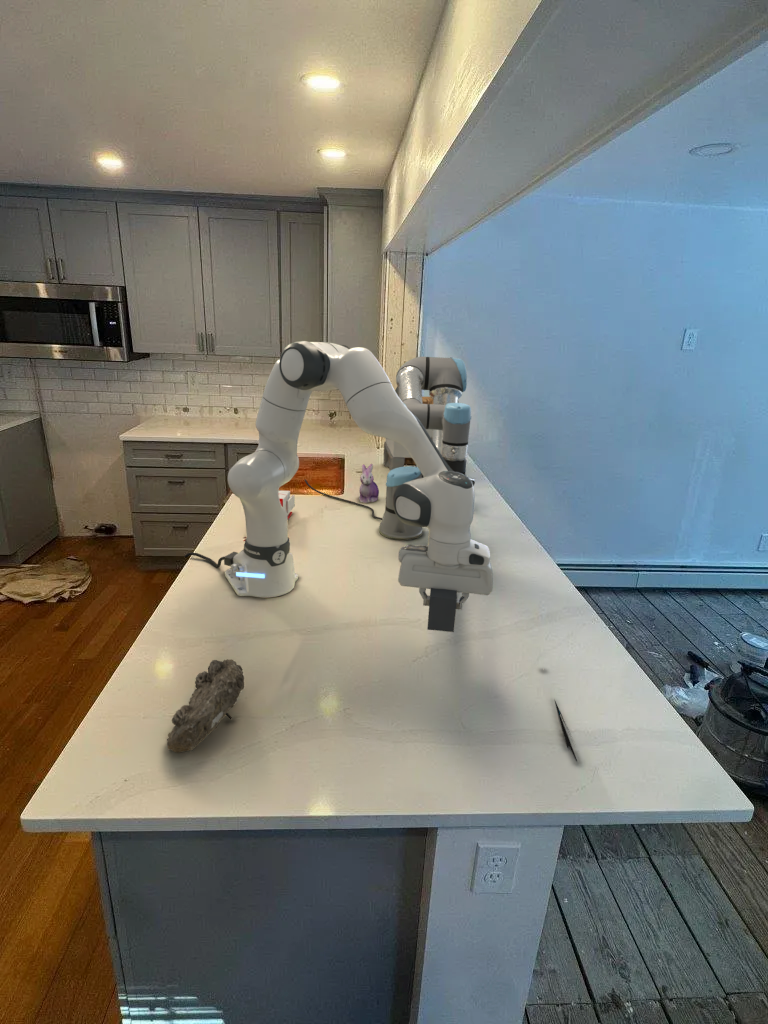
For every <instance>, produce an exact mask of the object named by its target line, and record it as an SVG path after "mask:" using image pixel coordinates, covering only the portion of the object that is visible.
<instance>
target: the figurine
mask: <svg viewBox="0 0 768 1024" xmlns="http://www.w3.org/2000/svg"><path fill="white" fill-rule="evenodd" d="M373 467H374V464H373V463H370V464H369V465H368V467H367V466H366V465H365V464H362V465H361V472H362V473H361V475H360V478H359V480H360V483H361V484H360V486H359V490H358V491H359V496H358V500H359V503H365V504H369V503H374V502H377V501H378V500H379V495H380V489H379V486H378V484H377V483H376V482H375V481H374V480H375V477H374V475H373V473H372V471H373Z"/></svg>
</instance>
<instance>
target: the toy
mask: <svg viewBox="0 0 768 1024" xmlns="http://www.w3.org/2000/svg"><path fill="white" fill-rule="evenodd" d="M278 495H279V499H280V503H281V506H282V507H284V508H285V509H286V511H287V514H288V520H289V519H290V518H291V516H292V514H293V511H292V510H293V509H294V508H295V507H296V497H295V494H293V495H291V491H290V490H279V491H278Z"/></svg>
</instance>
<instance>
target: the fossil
mask: <svg viewBox="0 0 768 1024" xmlns="http://www.w3.org/2000/svg"><path fill="white" fill-rule="evenodd" d="M243 670H244V669H243V667H242V665H240V664H237V662H236V661H235V660H234V659H232V658H231V659H227V658H226V659H224V660H223V661H222V660H217V659H212V660H211V661H210V663H209V665H208V666H207V671H201V672H199V673H198V674H197V675H196V676H195V680H194V684H195V685H194V687H195V689H194V690H193V693H192V694H191V697H190V698H189V700H188V704H184V705H182V706H181V707H180V709H177V710H176V711H175V713H174V715H173V716H172V718H171V723H172V724H173V727H172V730H171V731H170V732H168V734H167V738H166V741H167V742H166V745H167V749H168V750H169V751H173V752H174V753H176V754H178V753H182V752H188V751H189V752H192V751H193V750H195V748H196V747H197V746H199V744H200V743H201V742H203V741H204V740H205V739H206V738H207V737H208V736H209V735H210V734H211V733H212V732H214V730H215V729H217V727H218V726H219V724H220V722H221V721H222V720H223V719H224V718H225V716H226V717H227V719H229V720H233V717H232V715H230V714H229V710H230V709H231V708H234V706H235V704H236V703H237V702H238V699H239V697H240V695H241V693H242V691H243V690H245V689H244V688H245V675H244V671H243Z"/></svg>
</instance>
